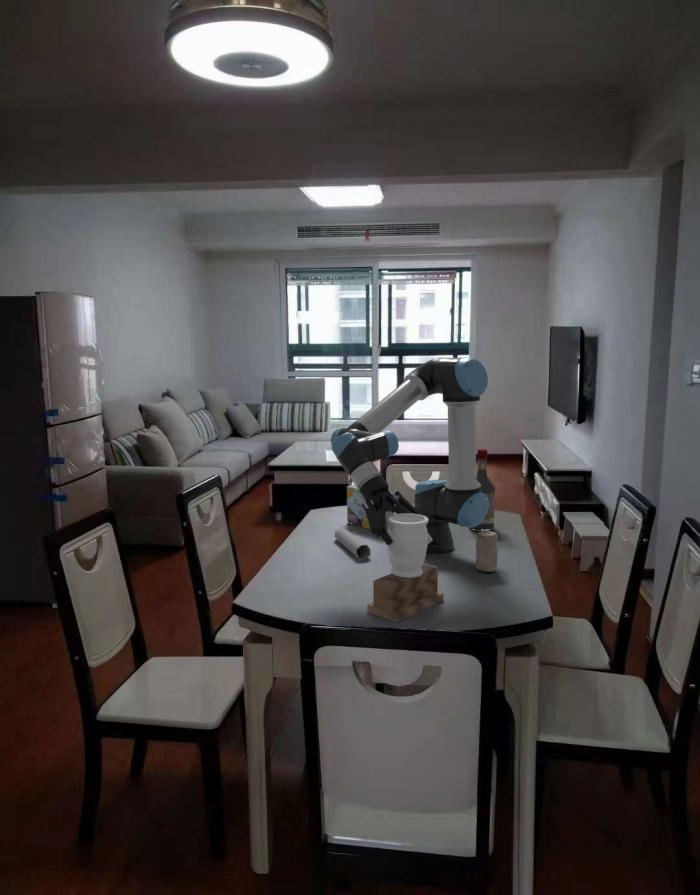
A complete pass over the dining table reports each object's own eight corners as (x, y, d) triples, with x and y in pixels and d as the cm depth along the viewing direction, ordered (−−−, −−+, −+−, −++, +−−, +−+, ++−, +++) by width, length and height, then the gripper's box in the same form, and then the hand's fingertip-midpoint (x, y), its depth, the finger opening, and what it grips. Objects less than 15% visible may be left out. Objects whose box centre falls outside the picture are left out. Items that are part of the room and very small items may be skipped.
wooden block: (413, 591, 188) (414, 560, 186) (443, 600, 181) (444, 568, 180) (367, 612, 173) (367, 578, 172) (397, 622, 166) (398, 588, 165)
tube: (330, 529, 238) (353, 548, 214) (343, 523, 239) (368, 541, 216) (335, 542, 239) (358, 563, 216) (348, 536, 241) (373, 556, 217)
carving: (500, 569, 206) (501, 531, 204) (491, 575, 200) (492, 537, 198) (481, 565, 210) (482, 528, 208) (471, 572, 204) (472, 534, 202)
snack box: (346, 523, 260) (345, 485, 258) (356, 521, 264) (356, 483, 262) (384, 534, 245) (384, 494, 243) (395, 531, 249) (395, 492, 246)
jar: (416, 564, 182) (417, 511, 180) (434, 577, 173) (435, 521, 170) (380, 569, 179) (381, 514, 176) (396, 582, 169) (397, 525, 167)
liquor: (466, 524, 258) (468, 448, 253) (490, 525, 257) (492, 448, 253) (470, 531, 249) (472, 451, 244) (494, 531, 248) (497, 451, 244)
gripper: (390, 484, 192) (433, 545, 184) (332, 498, 174) (377, 567, 166) (405, 468, 187) (449, 530, 180) (347, 480, 170) (393, 551, 162)
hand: (414, 548), depth 173 cm, fingers open, 12 cm apart
